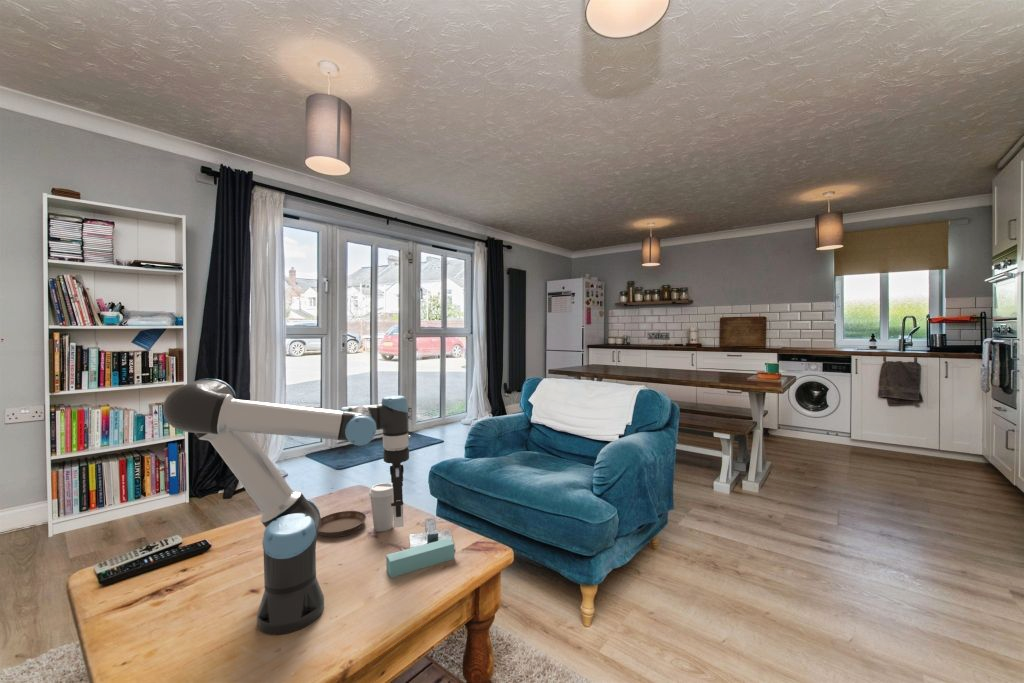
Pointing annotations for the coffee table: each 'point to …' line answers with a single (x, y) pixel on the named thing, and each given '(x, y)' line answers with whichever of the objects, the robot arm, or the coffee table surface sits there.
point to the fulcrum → (429, 534)
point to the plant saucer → (341, 523)
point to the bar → (419, 557)
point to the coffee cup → (382, 506)
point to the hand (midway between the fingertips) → (397, 517)
